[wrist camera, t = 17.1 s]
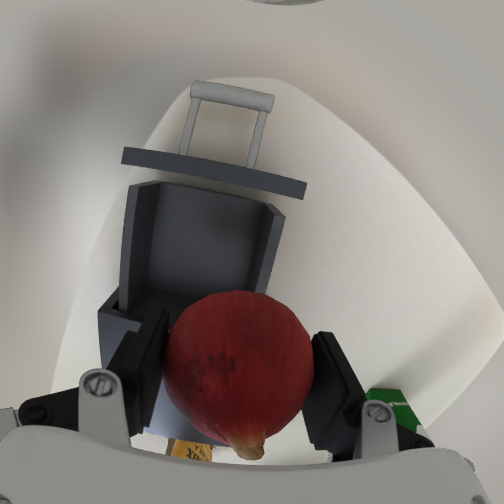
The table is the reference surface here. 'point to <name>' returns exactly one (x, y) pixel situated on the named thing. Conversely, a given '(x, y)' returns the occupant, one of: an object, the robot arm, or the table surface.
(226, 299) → the onion
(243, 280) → the drawer
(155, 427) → the cabinet
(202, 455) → the pancake mix bag
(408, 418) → the milk carton
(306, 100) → the table surface
